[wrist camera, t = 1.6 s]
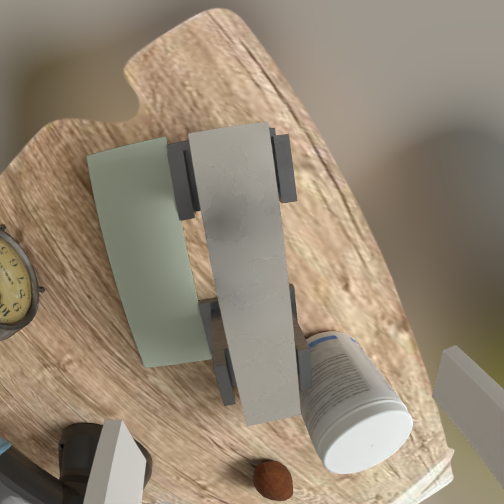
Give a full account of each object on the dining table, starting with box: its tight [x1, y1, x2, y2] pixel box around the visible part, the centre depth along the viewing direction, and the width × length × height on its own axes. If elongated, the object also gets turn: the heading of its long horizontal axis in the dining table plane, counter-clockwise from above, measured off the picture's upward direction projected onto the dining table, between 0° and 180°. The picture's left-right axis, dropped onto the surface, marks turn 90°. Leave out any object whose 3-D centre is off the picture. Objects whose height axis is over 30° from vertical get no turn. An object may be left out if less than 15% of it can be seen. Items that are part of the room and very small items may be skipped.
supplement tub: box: [298, 331, 413, 474], centre depth 31 cm, size 10×10×15 cm
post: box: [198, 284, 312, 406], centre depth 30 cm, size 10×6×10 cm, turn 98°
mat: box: [86, 137, 212, 368], centre depth 31 cm, size 8×24×1 cm, turn 8°
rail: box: [188, 122, 301, 426], centre depth 23 cm, size 4×22×4 cm, turn 8°
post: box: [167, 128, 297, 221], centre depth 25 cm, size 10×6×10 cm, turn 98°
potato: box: [253, 461, 293, 501], centre depth 41 cm, size 6×12×6 cm, turn 25°
